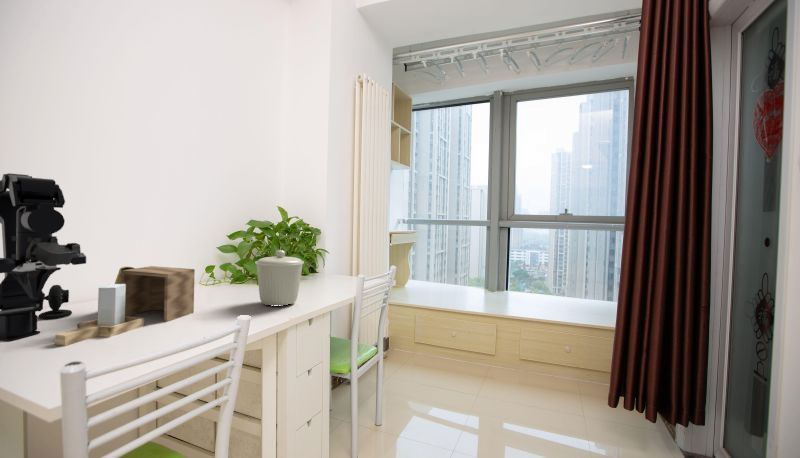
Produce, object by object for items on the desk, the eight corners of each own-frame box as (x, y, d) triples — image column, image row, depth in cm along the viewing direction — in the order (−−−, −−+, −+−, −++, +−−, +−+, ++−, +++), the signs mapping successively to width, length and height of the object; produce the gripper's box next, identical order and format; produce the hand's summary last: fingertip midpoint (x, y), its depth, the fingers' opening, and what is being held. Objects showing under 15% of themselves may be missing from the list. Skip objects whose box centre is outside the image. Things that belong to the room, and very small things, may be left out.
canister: (279, 296, 147) (281, 247, 146) (312, 302, 138) (314, 250, 138) (243, 305, 130) (244, 249, 130) (278, 312, 122) (279, 253, 122)
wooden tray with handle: (78, 347, 85) (78, 336, 85) (42, 342, 87) (42, 332, 87) (143, 326, 103) (144, 318, 103) (112, 323, 105) (113, 314, 105)
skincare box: (107, 324, 101) (109, 283, 101) (125, 323, 102) (126, 283, 102) (96, 330, 95) (97, 287, 95) (114, 330, 96) (116, 287, 96)
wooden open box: (166, 321, 107) (167, 274, 107) (120, 317, 110) (121, 270, 110) (193, 312, 118) (194, 269, 118) (150, 308, 121) (151, 266, 121)
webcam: (71, 317, 108) (71, 285, 108) (36, 321, 103) (37, 288, 103) (72, 311, 114) (73, 281, 113) (40, 315, 109) (40, 283, 109)
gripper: (10, 235, 69) (10, 312, 70) (104, 232, 88) (103, 293, 88) (-32, 232, 71) (-33, 307, 72) (68, 230, 90) (68, 289, 90)
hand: (34, 298), depth 80 cm, fingers closed
